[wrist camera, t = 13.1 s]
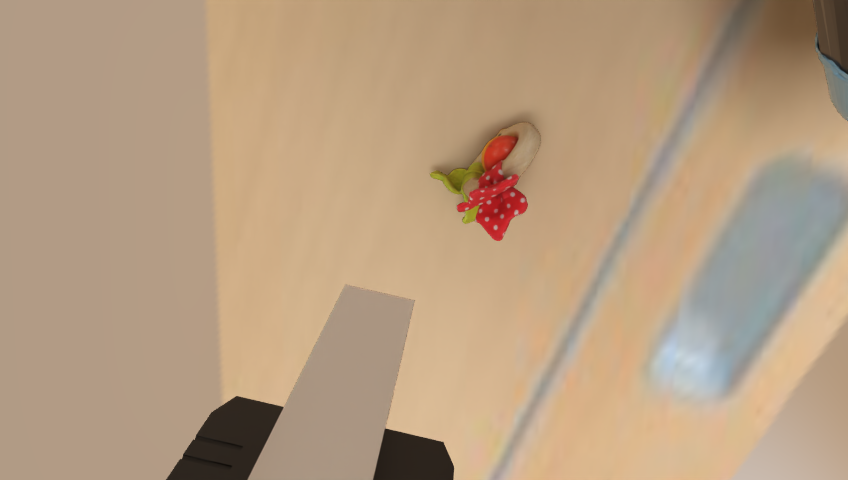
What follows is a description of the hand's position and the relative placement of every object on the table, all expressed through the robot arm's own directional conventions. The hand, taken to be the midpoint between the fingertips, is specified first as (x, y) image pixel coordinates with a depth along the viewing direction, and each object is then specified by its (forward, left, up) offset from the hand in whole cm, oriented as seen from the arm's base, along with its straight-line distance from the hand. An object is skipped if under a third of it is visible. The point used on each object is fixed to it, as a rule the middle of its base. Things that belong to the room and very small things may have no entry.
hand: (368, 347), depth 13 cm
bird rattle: (-4, +4, -39) cm, 39 cm away
